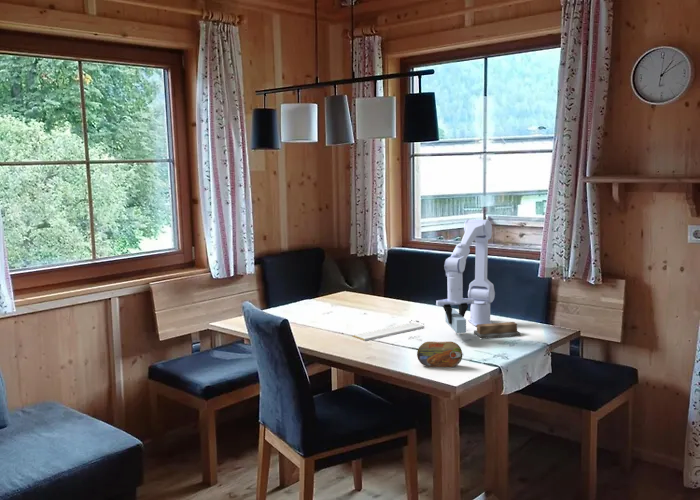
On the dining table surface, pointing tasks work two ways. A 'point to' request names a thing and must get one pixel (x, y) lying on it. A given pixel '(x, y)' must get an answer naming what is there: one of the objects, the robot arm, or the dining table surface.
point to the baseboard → (388, 331)
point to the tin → (439, 354)
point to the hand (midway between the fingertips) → (455, 323)
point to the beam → (457, 322)
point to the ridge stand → (497, 330)
